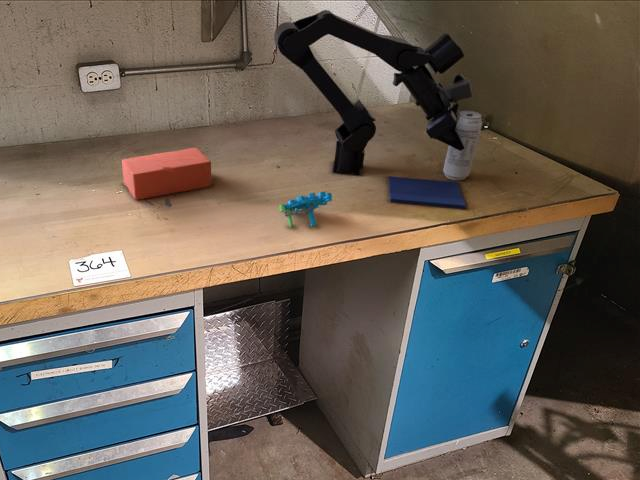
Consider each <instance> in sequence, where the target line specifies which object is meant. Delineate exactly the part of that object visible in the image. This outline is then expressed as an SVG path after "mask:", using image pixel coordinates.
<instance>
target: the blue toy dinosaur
mask: <svg viewBox="0 0 640 480" xmlns="http://www.w3.org/2000/svg"><path fill="white" fill-rule="evenodd" d="M332 201H333V195H332V192H327V193H326V191H319V192H318V194H317V195H316V192H310V193H308V194H307V196H304V195H298V196H297V197H296V199H289V200H288V201H287V202H288V203H282V204H281V203H280V204H279V211H280V213H283V214H284V217H287V221H288V225H289V227H290V228H291V227H294V223H293V219H292V216H297V215H302V214H308V218H309V222H310V226H311V227H314V226H317V223H316V219H315V218H316V217H315V214H314V211H315V210H316V209H319V208H320V206H326V205H328V202H332Z"/></svg>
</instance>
